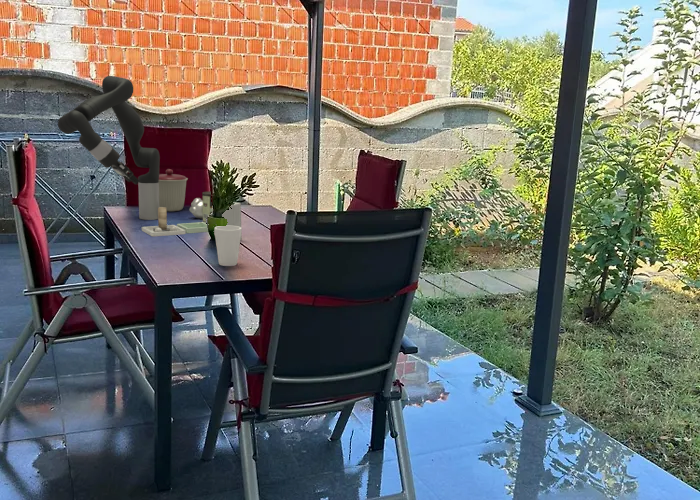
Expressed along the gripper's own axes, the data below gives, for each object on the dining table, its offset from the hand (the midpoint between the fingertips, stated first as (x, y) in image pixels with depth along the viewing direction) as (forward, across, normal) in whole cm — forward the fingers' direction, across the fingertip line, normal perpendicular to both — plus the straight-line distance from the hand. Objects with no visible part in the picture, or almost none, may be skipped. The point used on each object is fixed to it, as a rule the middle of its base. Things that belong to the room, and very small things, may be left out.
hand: (134, 181), depth 267 cm
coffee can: (+46, +19, -14) cm, 52 cm away
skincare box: (+39, -21, -6) cm, 45 cm away
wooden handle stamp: (+24, +1, +7) cm, 25 cm away
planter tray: (+34, 0, -2) cm, 34 cm away
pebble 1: (+20, -4, +8) cm, 22 cm away
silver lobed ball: (+45, +31, -13) cm, 56 cm away
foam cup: (+27, -58, +6) cm, 64 cm away
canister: (+42, +59, -10) cm, 73 cm away
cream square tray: (+24, 0, +8) cm, 26 cm away
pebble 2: (+25, -4, +4) cm, 25 cm away
